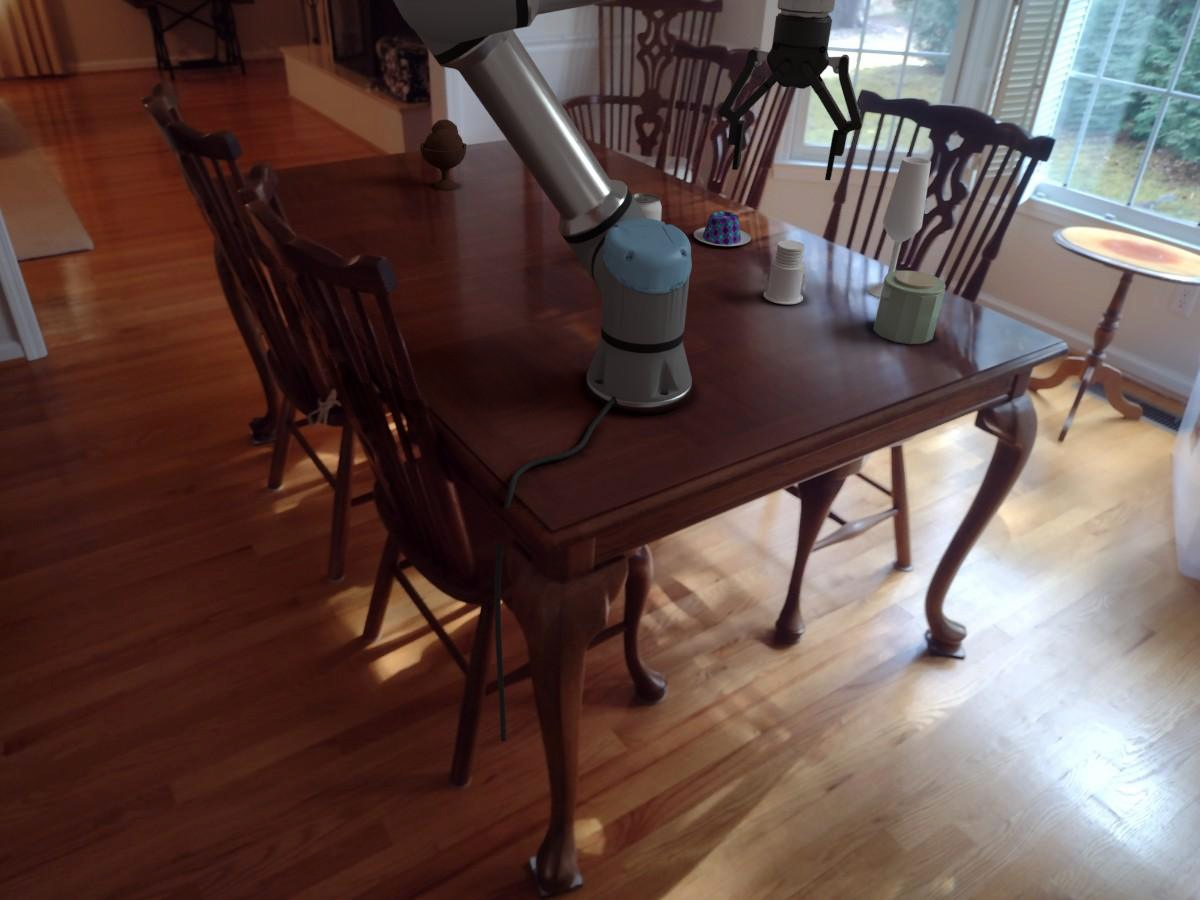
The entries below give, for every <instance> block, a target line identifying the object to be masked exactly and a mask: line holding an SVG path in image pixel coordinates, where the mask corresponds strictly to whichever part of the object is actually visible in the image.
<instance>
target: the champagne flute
mask: <svg viewBox="0 0 1200 900" xmlns="http://www.w3.org/2000/svg"><path fill="white" fill-rule="evenodd" d="M931 165H932V161H931V160H930V159H929V158H928V159H927V158H924V157H918V156H905V157H902V159H901V162H900V166H899V168H898V172H897V174H896V178H895V181H894V184H893V188H892V190H891V194H890V197H889V200H888V204H887V206H886V210H885V213H884V216H883V219H882V226H883V229H884V230H885V232H886V234H887V235H888V236H889V238H890V239H891V240H892V241H894V243H893V247H892V252H891V256H890V261H889V265H888V269H887V273H886V275H887V274H888V273H890V272H894V271H896V268H897V263H898V259H899V256H900V255H899V254H900V251H901V246H902V243H903V242H906V241H907V240H910V239H911V238H912V237H915V235H916V234H918V233H919V232H920V230H922V227H923V221H924V215H925V207H926V201H927V193H928V187H929V180H930V173H931ZM882 286H883V282H881V283H877V284H875V285H872V286H870V287H868V289H867V292H868V293H869V294H871V295H872V296H874V297H876V298H879V299H880V295H881V290H882Z"/></svg>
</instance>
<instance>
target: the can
mask: <svg viewBox="0 0 1200 900" xmlns="http://www.w3.org/2000/svg"><path fill="white" fill-rule="evenodd" d="M632 195H633V197H634V198H635V200H636V201H637V203H638V205H639V206H640V208H641V209H642V211H643V212H644V214H645V216H646V217H647V219H654V220H659V221H662V211H663V210H662V209H663V207H662V203H661V197H660V196H659V195H656V194H654V193H645V192H644V193H635V194H632Z"/></svg>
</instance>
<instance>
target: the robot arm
mask: <svg viewBox="0 0 1200 900" xmlns="http://www.w3.org/2000/svg"><path fill="white" fill-rule="evenodd" d="M614 1H616V0H392V2H393V4H394V5H395V7H396V8H397V10H398V12H399V14H400V15H401V17H402V19H403V20H404V22H406V23H407V25H408V26H409V27H410V28H411V29H412V30H413V31H415V33H416V34H417V36H418V37H419V38H420V40H421V41H422V43H423V44H424V46H425V47H426V48H427V49H428V51H429V53H430V54H431V55H432V56H433V58H434V59H435V61H436V62H437V63H438V65H439V66H440V67H442V68H448V69H453V70H456V71H457V72H459V74H460V75H461V76H462V78H463V79H464V81H465V82H466V84H467V85H468V86H469V88H470V89H471V91H472V92H473V93H474V95H475V96H476V98H477V99H478V101H479V102H480V104H481V105H482V106H483V108H484V109H485V111H486V112H487V113H488V115H489V116H490V118H491V119H492V120H493V122H494V123H495V125H496V126H497V128H498V129H499V131H500V132H501V133H502V134H503V136H504V137H505V139H506V140H507V141H508V143H509V145H510V146H511V147H512V149H513V150H514V152H515V153H516V155H517V156H518V157H519V159H520V160H521V162H522V163H523V164H524V166H525V167H526V169H527V170H528V172H529V174H531V176H532V177H533V179H534V180H535V181H536V183H537V185H538V186H539V187H540V188H541V190H542V191H543V193H544V194H545V196H546V197H547V199H548V200H549V201H550V202H551V204H552V206H553V207H554V209H555V210H556V212H557V213H558V214H559V219H558V226H557V228H558V232H559V234H560V236H562V239H564V241H565V242H566V243H567V245H568V246H569V248H570V249H571V250H572V252H573V253H574V255H575V256H576V258H577V260H578V261H579V262H580V264H581V265H582V266H583V268H584V269H585V270H586V272H587V273H588V274H589V276H590V278H591V279H592V281H593V283H594V285H595V287H597V289H598V290H599V292H600V294H601V321H600V322H601V323H600V324H601V325H600V326H601V327H600V339H599V341H598V344H597V347H596V349H595V352H594V354H593V357H592V359H591V362H590V365H589V367H588V369H587V372H586V391H587V394H588V395H589V396H590V398H592V400H593V401H595V402H596V403H598V404H600V405H601V406H603V408H602V409H601V410H600V411H599V413H598V414H597V416H596V417H595V418H594V419H593V421H592V422H591V423H590V425H589V426H588V428H587V429H586V431H585V433H584V436H583V437H582V439H581V440H580V442H579V443H578V444H577V445H576V446H574V447H573V448H571V449H569V450H567V451H564V452H561V453H557V454H553V455H549V456H545V457H540V458H536V459H534V460H531V461H529V462H527V463H525V464H524V465H522V466H520V467H519V468H518V469H517V470H515V472H513V474H512V476H511V478H510V481H509V485H508V489H507V493H506V496H505V499H504V502H503V509H509V508H510V506H511V504H512V500H513V497H514V494H515V490H516V485H517V483H518V480H519V478H520V477H521V476H522V475H523V474H524V473H525V472H526V471H528V470H530V469H532V468H534V467H538V466H541V465H545V464H549V463H553V462H557V461H562V460H564V459H567V458H570V457H572V456H573V455H575V454H577V453H578V452H580V451H581V450H582V449H583V448H584V447H585V446H586V445H587V444H588V442H589V440H590V438H591V436H592V434H593V432H594V430H595V429H596V427H597V426H598V425H599V423H600V422H601V421H602V420H603V418H604V417H605V416H606V414H608V412H609V411H610V410H614V411H616V412H621V413H626V414H631V415H632V414H634V415H654V414H655V415H656V414H662V413H667V412H669V411H673V410H675V409H677V408H680V407H681V406H683V405H684V404H686V403H687V402H688V400H689V399H690V397H691V394H692V385H693V377H692V374H693V372H692V368H691V367H690V366H689V361H688V358H687V353H686V350H685V346H684V337H685V336H684V335H685V325H686V318H687V317H686V316H687V308H688V307H687V306H688V298H689V297H688V295H689V288H690V287H689V286H690V278H691V277H690V276H691V273H692V267H693V262H692V247H691V242H690V239H689V238H688V236H687V235H686V234H685V233H684V232H683V230H681V229H680V228H678V227H676V226H675V225H673V224H670V223H669V224H666V223H665V221H663V220H661V221H659V220H654V219H647V217H646V216H645V214H644V212H643V211H642V209H641V208H640V206H639V205H638V203H637V201H636V200H635V198H634V197H633V195H634V194H632V192H631V190H630V189H629V188H628V186H627V184H626V183H625V182H624V181H622V180H618V179H610V178H609V176H608V175H607V172H606V171H605V170H604V168H603V166H602V165H601V164H600V162H599V160H598V159H597V158H596V156H595V154H594V153H593V151H592V150H591V148H590V147H589V145H588V143H587V142H586V140H585V139H584V137H583V136H582V134H581V133H580V131H579V130H578V128H577V127H576V125H575V124H574V122H573V120H572V119H571V117H570V116H569V114H568V112H567V111H566V109H565V108H564V106H563V105H562V104H561V102H560V100H559V99H558V97H557V95H556V94H555V92H554V91H553V89H552V88H551V86H550V85H549V84H548V82H547V80H546V79H545V77H544V76H543V73H542V72H541V71H540V69H539V68H538V66H537V64H536V63H535V62H534V60H533V58H532V57H531V55H530V54H529V52H528V51H527V49H526V47H525V46H524V44H523V43H522V41H521V39H520V38H519V36H518V35H517V34H516V32H515V31H514V30H517V29H524V28H528V27H530V26H531V25H532V23H534V20H535V19H536V17H537V16H539V15H544V14H548V13H554V12H559V11H565V10H570V9H575V8H582V7H588V6H592V5H600V4H603V3H610V2H614ZM835 6H836V0H777V6H776V7H777V9H778V10H780V12H779V13H777V15H776V16H775V22H774V28H773V37H772V44H771V47H770V50H769V51H764V50H761V49H759V48H758V47H755V46H754V47H752V48H751V49H750V50H749V51H748V52H747V56H746V61H745V65H744V68H743V69H742V71H741V73H740V74H739V76H738V78H737V79H736V81H735V83H734V84H733V86H732V87H731V89H730V91H729V93H728V94H727V95H726V97H725V99H724V101H723V103H722V104H721V106H720V107H719V110H718V112H717V114H718V116H719V117H721V118H725V119H727V120H728V122H729V128H728V137H727V143H728V145H729V146H734V149H733V155H732V156H733V157H732V166H731V170H732V171H738V170H739V168H740V166H741V159H742V151H743V142H744V133H745V128H746V127H745V126H746V120H743V119H742V117H743V116H744V115H746V113H747V112H748V111H749V110H750V109H751V108H752V107H754V105H756V103H757V102H758V101H759V100H760V99H761V98H762V97H763V96H765V94H766V93H767V92H768V91H769V90H771V89H772V88H773V87H774V85H775V84H778V85H779V86H781V87H782V88H791V87H794V88H797V89H800V90H805V89H807V88H810V87H811V88H812V90H813V92H814V93H815V94H816V96H817V97H818V99H819V100H820V103H821V104H822V106H823V107H824V109H825V110H826V113H827V114H828V115H829V117H830V119H831V121H832V122H833V124H834V125H835V127H836V129H833V132H832V136H831V137H832V138H831V141H830V148H829V152H828V153H829V155H828V160H827V165H826V171H825V176H824V181H830V182H831V180H832V175H833V170H834V164H835V160H836V159H835V158H836V157H842V156H843V155H844V153H845V148H846V143H847V138H848V137H847V136H848V134H849V133H850V132H853V131H859V130H861V129H862V126H863V118H862V114H861V111H860V107H859V104H858V101H857V97H856V92H855V90H854V87H853V83H852V79H851V76H850V73H849V71H850V70H849V69H850V56H849V55H848V54H842V55H841V56H829V52H828V49H829V42H830V37H831V30H832V24H833V19H832V17H831V16H830V13H831V14H832V13H833V12H834V10H835ZM763 62H766V63H767V64H768V68H769V69H770V71H771V74H770V75H769V76H768V77H767V78H766V79H765V80H764V81H763V82H762V83H761V84H760V85H758V87H757V88H756V89H755V90H754V91H753V92H752V93H751V94H750V95H749V96H748V97H747V98H746V99H745V100H744V101H743V102H742V103H741V104H740V105H739V106H738V107H737V108H736V110H735V109H733V108H732V107H733V106H734V104H735V102H736V101H737V98H738V97H739V95H740V94H741V92H742V90H743V89H744V87H745V85H746V84H747V82H748V80H749V79H750V77H751V76H752V74H753V73H754V70H755V68H759V67H760V66H761V65H762V64H763ZM828 67H831V68H832V72H833V73H834V74H836V75H838V81H839V85H840V88H841V91H842V94H843V95H842V96H843V98H844V101H845V104H846V109H847V111H848V115H849V119H850V120H847V118H846V117H845V115H844V114H843V112H842V110H841V108H840V107H839V106H838V104H837V102H836V100H835V98H834V96H832V95H833V94H831V91H830V90H829V88H828V87H827V85H826V83H825V81H824V79H823V77H822V76H821V75H822V74H823V73H824V72H825V71H826V70H827V68H828ZM503 553H504V544H502V543H496V555H495V568H494V570H495V571H494V573H495V574H494V635H495V636H494V637H495V654H496V655H495V657H496V668H497V669H496V671H497V686H498V687H497V689H498V701H499V704H498V705H499V726H500V727H499V732H500V741H501V742H506V741H507V721H506V719H507V718H506V699H505V683H504V682H505V680H504V662H503V647H502V646H503V643H502V641H503V640H502V613H501V612H502V611H501V610H502V608H501V606H502V605H501V604H502V603H501V601H502V600H501V599H502V597H501V596H502V595H501V594H502V569H503Z"/></svg>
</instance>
